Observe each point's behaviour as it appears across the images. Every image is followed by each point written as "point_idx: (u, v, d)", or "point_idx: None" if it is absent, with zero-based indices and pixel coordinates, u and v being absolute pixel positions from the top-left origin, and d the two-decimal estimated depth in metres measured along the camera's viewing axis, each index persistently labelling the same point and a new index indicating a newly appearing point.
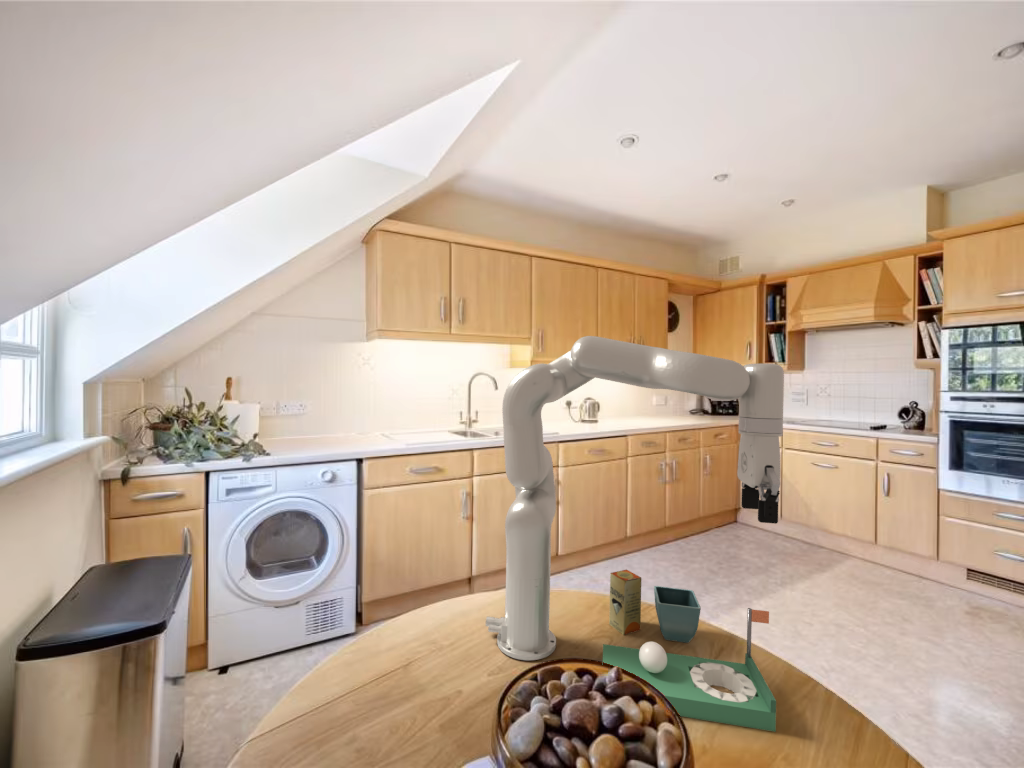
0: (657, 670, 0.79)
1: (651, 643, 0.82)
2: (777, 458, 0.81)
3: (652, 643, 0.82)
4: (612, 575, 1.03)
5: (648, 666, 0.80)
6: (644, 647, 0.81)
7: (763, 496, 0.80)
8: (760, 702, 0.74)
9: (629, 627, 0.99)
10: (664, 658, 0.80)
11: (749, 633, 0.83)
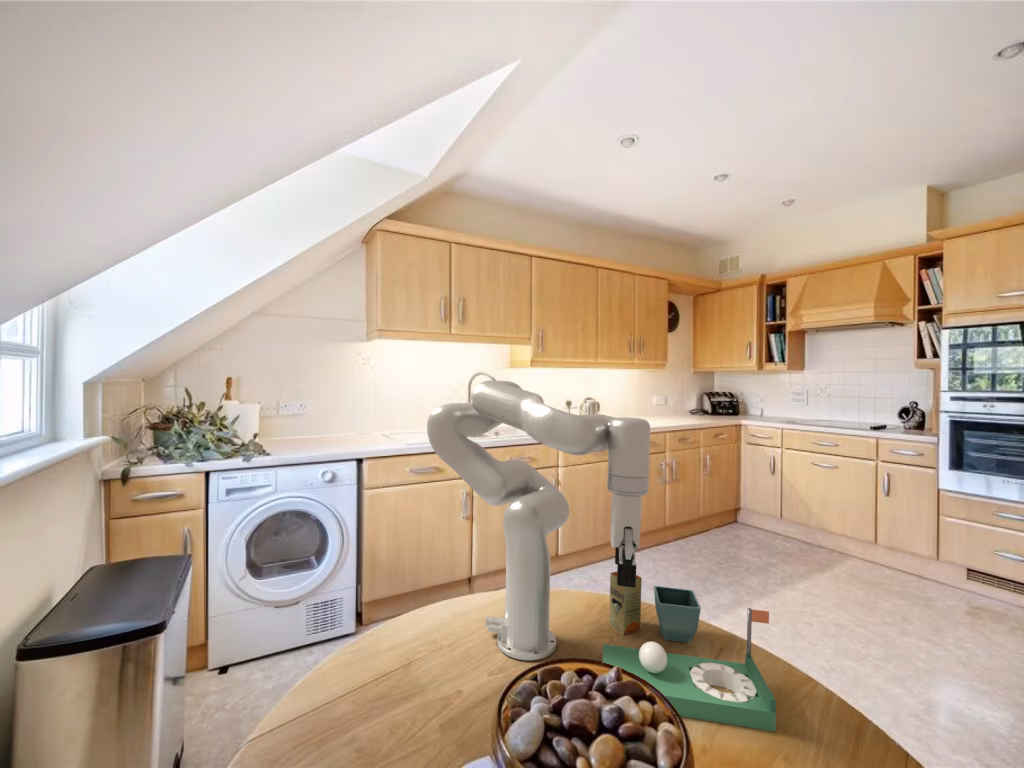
0: (657, 670, 0.79)
1: (651, 643, 0.82)
2: (636, 519, 0.78)
3: (652, 643, 0.82)
4: (612, 575, 1.03)
5: (648, 666, 0.80)
6: (644, 647, 0.81)
7: (620, 559, 0.77)
8: (760, 702, 0.74)
9: (629, 627, 0.99)
10: (664, 658, 0.80)
11: (749, 633, 0.83)
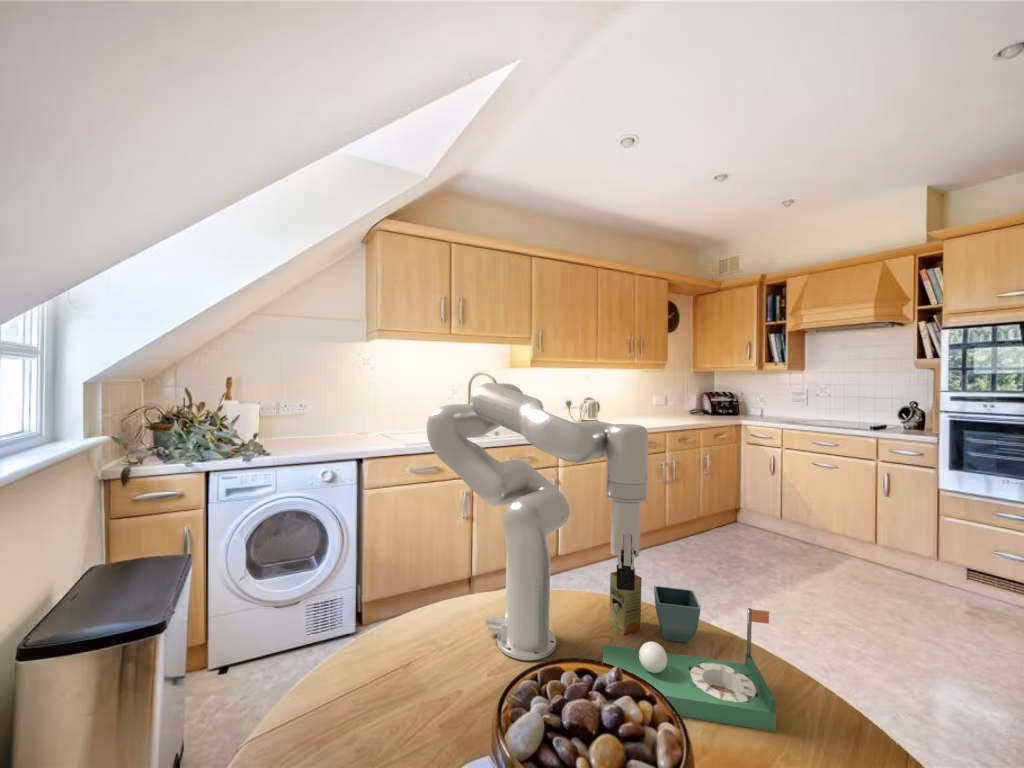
0: (657, 670, 0.79)
1: (651, 643, 0.82)
2: (636, 526, 0.78)
3: (652, 643, 0.82)
4: (612, 575, 1.02)
5: (648, 666, 0.80)
6: (644, 647, 0.81)
7: (619, 567, 0.81)
8: (760, 702, 0.74)
9: (629, 627, 0.99)
10: (664, 658, 0.80)
11: (749, 633, 0.83)
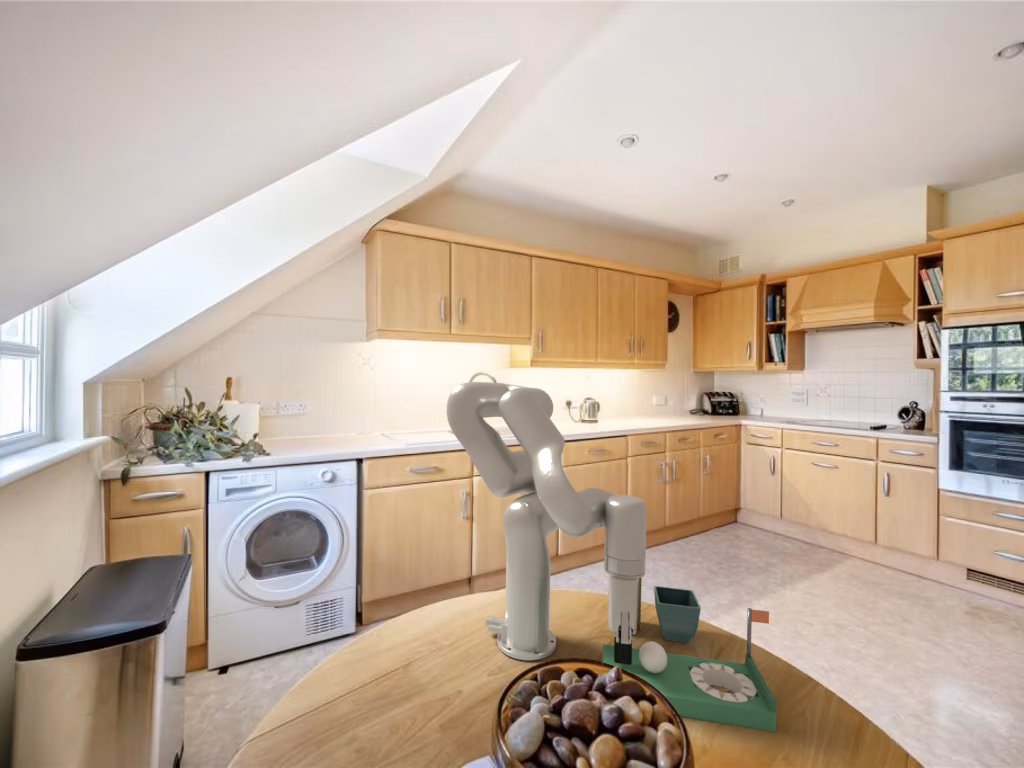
0: (657, 670, 0.79)
1: (651, 643, 0.82)
2: (633, 604, 0.78)
3: (652, 643, 0.82)
4: None
5: (648, 666, 0.80)
6: (644, 647, 0.81)
7: (617, 641, 0.81)
8: (760, 702, 0.74)
9: None
10: (664, 658, 0.80)
11: (749, 633, 0.83)
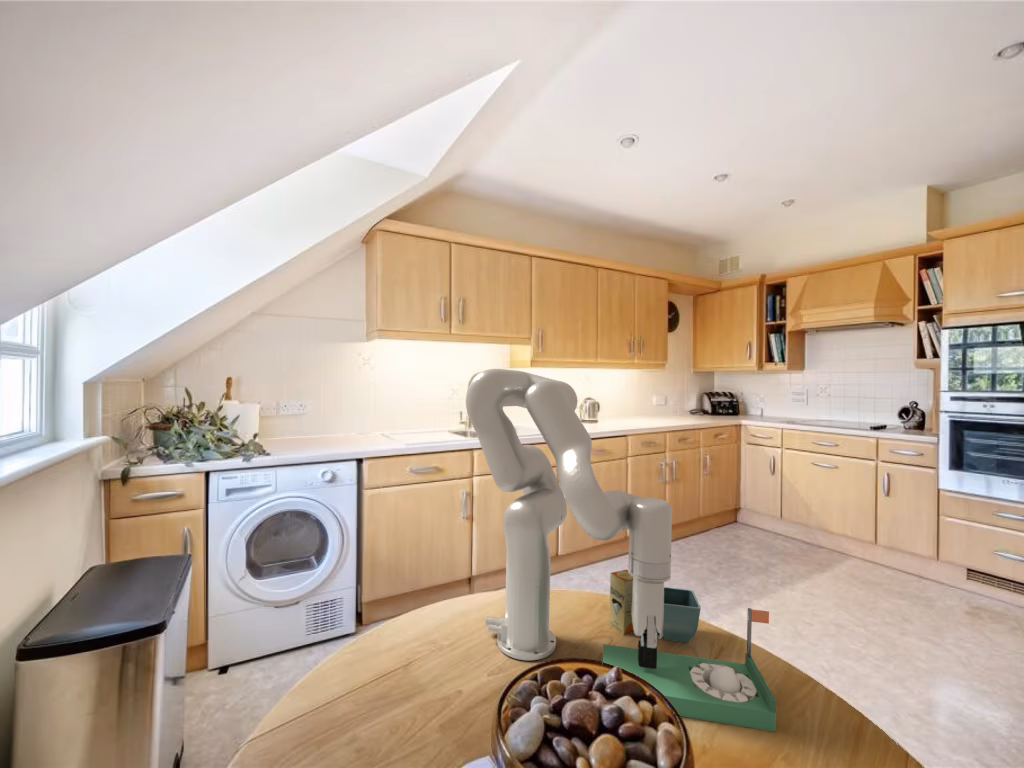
0: (733, 682, 0.77)
1: None
2: (660, 608, 0.77)
3: (710, 676, 0.80)
4: (612, 575, 1.02)
5: (728, 691, 0.77)
6: (712, 686, 0.79)
7: (641, 645, 0.80)
8: (760, 702, 0.74)
9: (629, 627, 0.99)
10: (723, 669, 0.79)
11: (749, 633, 0.83)
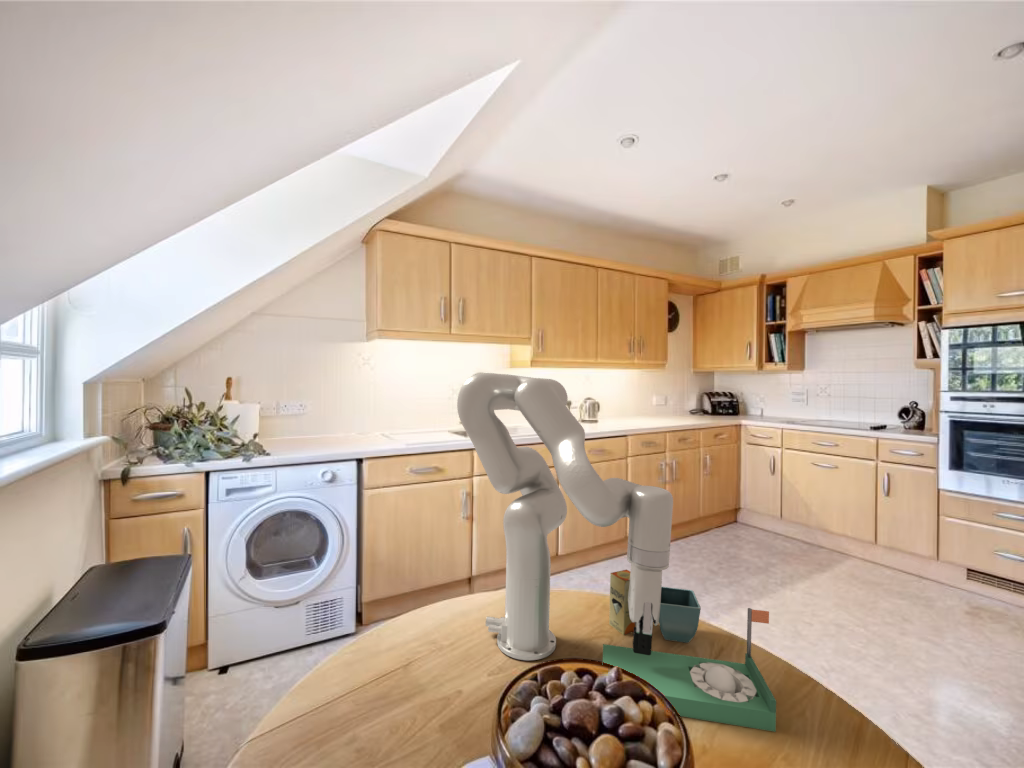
0: (725, 681, 0.78)
1: (705, 681, 0.80)
2: (657, 595, 0.77)
3: (705, 679, 0.81)
4: (612, 575, 1.02)
5: (723, 691, 0.77)
6: None
7: (637, 631, 0.81)
8: (760, 702, 0.74)
9: (629, 627, 0.99)
10: (714, 669, 0.80)
11: (749, 633, 0.83)
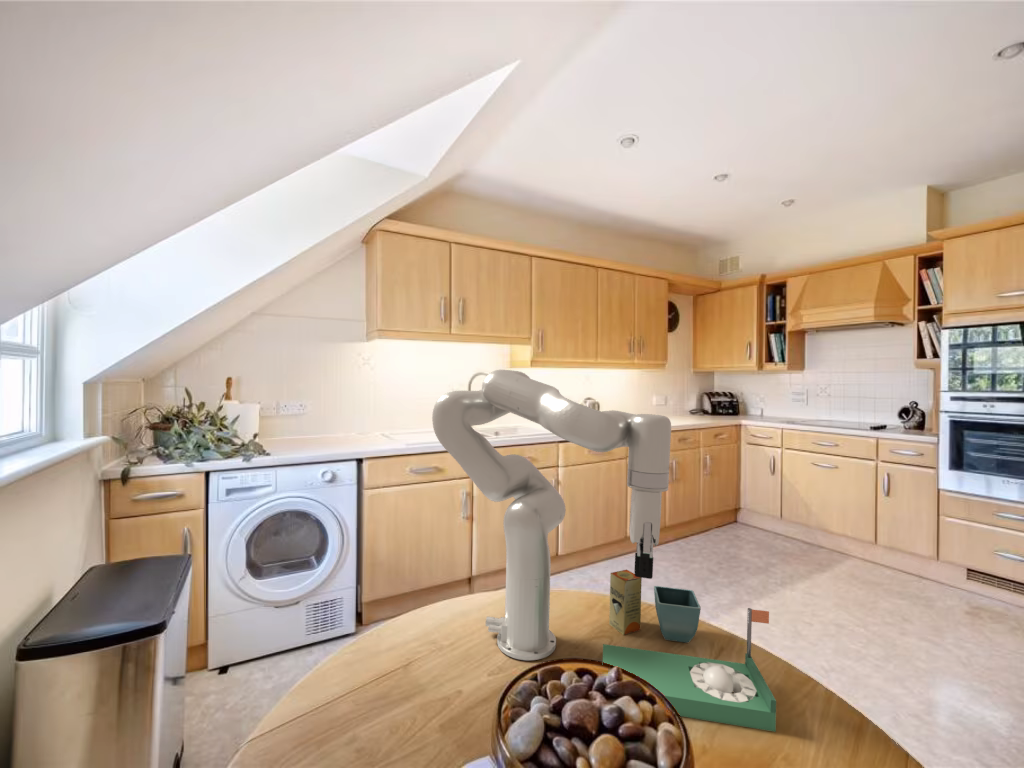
0: (721, 680, 0.78)
1: None
2: (656, 515, 0.79)
3: None
4: (612, 575, 1.03)
5: (720, 691, 0.77)
6: None
7: (638, 555, 0.82)
8: (760, 702, 0.74)
9: (629, 627, 0.99)
10: (709, 670, 0.80)
11: (749, 633, 0.83)
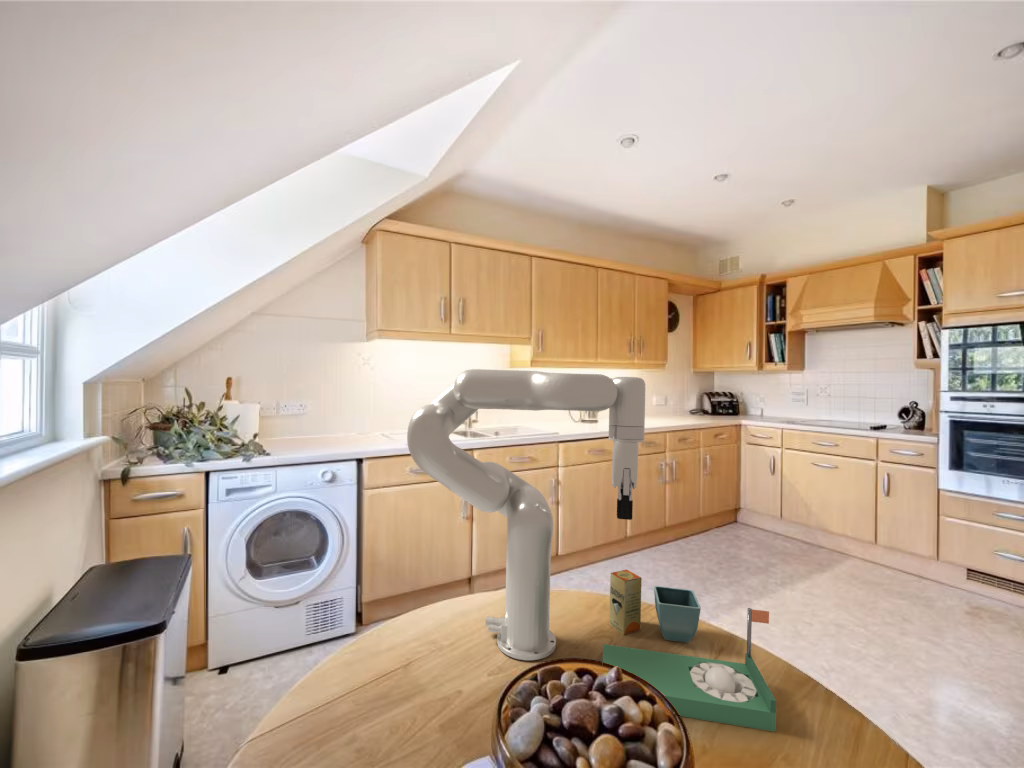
0: (725, 681, 0.77)
1: (705, 681, 0.80)
2: (634, 461, 0.91)
3: None
4: (612, 575, 1.03)
5: (723, 692, 0.77)
6: None
7: (619, 499, 0.94)
8: (760, 702, 0.74)
9: (629, 627, 0.99)
10: (713, 670, 0.80)
11: (749, 633, 0.83)
